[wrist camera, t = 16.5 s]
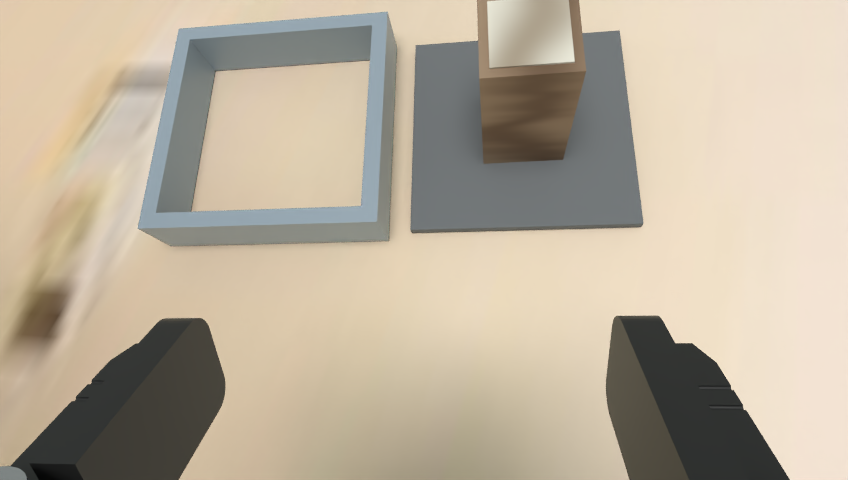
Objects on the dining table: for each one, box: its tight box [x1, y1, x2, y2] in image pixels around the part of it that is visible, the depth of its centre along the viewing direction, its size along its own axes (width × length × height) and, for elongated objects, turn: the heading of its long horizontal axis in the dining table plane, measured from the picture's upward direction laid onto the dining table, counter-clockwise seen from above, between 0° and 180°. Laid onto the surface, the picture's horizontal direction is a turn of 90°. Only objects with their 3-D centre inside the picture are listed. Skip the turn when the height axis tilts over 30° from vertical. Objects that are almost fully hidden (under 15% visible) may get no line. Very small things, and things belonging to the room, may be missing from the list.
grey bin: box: [138, 12, 397, 246], centre depth 35 cm, size 15×15×4 cm
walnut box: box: [477, 0, 586, 164], centre depth 30 cm, size 5×5×9 cm
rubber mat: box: [411, 31, 643, 233], centre depth 34 cm, size 14×14×1 cm
